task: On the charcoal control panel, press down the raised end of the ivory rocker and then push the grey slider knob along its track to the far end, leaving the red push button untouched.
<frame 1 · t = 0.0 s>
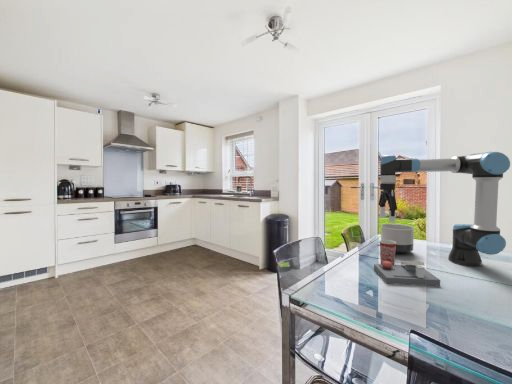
hand: (386, 219, 134), 28 cm above the table, fingers open, 13 cm apart
button: (386, 264, 127), point 5 cm above the table, slide at 0.0 cm
planter: (396, 251, 162), on the table
slider: (419, 271, 114), point 6 cm above the table, slide at 0.0 cm
rocker: (411, 263, 124), point 6 cm above the table, hinge at 20.0°
panel: (404, 276, 122), on the table
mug: (388, 263, 142), on the table
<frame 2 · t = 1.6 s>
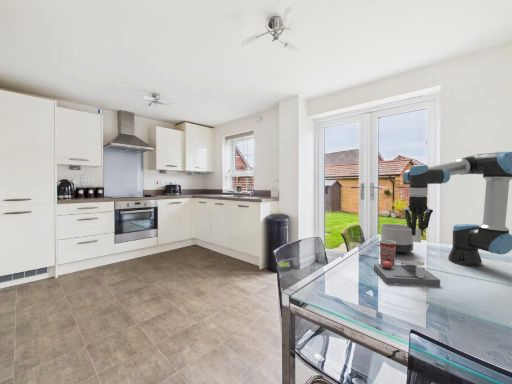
hand: (416, 241, 119), 19 cm above the table, fingers closed
nothing on the table moved.
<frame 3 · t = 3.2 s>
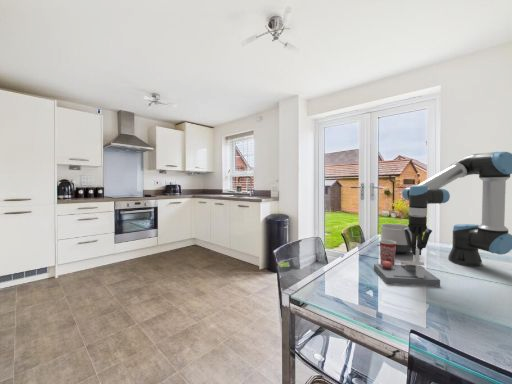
hand: (416, 261, 119), 9 cm above the table, fingers closed
rocker: (411, 263, 124), point 6 cm above the table, hinge at 20.0°, touching gripper
everything else where it was.
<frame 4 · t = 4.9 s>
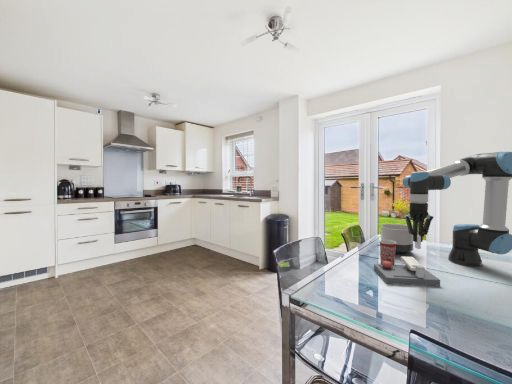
hand: (417, 247, 119), 16 cm above the table, fingers closed
rocker: (411, 263, 124), point 6 cm above the table, hinge at -8.6°
everything else where it was.
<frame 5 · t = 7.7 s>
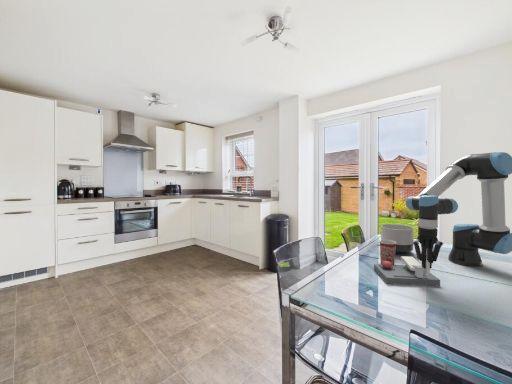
hand: (426, 274, 114), 5 cm above the table, fingers closed
slider: (419, 271, 114), point 6 cm above the table, slide at 0.4 cm, touching gripper
rocker: (411, 263, 124), point 6 cm above the table, hinge at -9.4°
everything else where it was.
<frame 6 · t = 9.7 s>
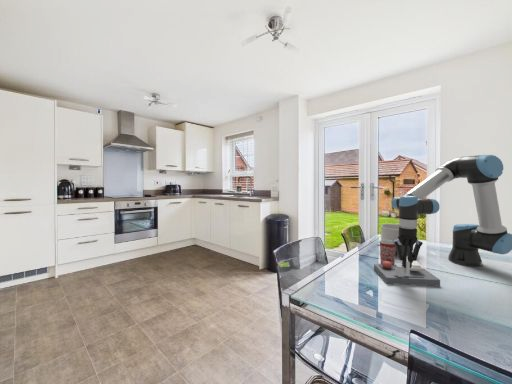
hand: (406, 273, 115), 5 cm above the table, fingers closed
slider: (399, 270, 116), point 6 cm above the table, slide at 9.2 cm, touching gripper
everything else where it was.
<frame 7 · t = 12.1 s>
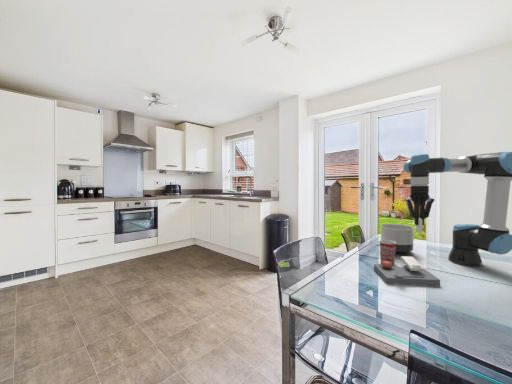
hand: (419, 231, 119), 25 cm above the table, fingers closed
slider: (399, 270, 116), point 6 cm above the table, slide at 9.2 cm
everything else where it was.
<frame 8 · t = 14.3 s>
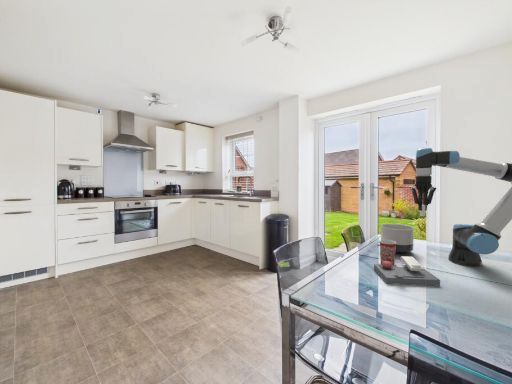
hand: (422, 216, 135), 29 cm above the table, fingers closed
nothing on the table moved.
at the end: rocker at -9° (first picture: +20°); slider slide at 9.2 cm; button slide at 0.0 cm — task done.
